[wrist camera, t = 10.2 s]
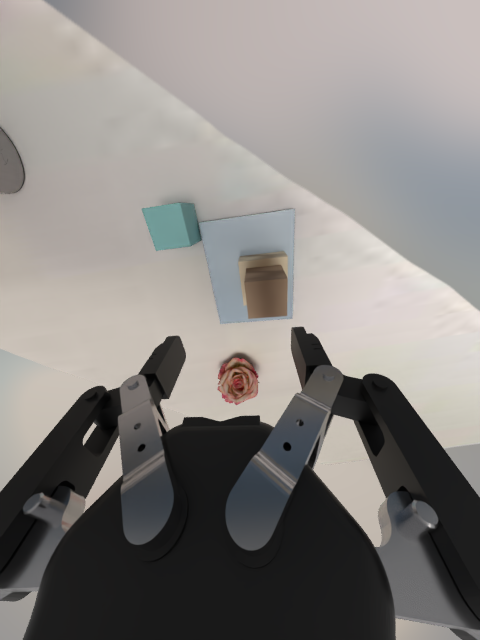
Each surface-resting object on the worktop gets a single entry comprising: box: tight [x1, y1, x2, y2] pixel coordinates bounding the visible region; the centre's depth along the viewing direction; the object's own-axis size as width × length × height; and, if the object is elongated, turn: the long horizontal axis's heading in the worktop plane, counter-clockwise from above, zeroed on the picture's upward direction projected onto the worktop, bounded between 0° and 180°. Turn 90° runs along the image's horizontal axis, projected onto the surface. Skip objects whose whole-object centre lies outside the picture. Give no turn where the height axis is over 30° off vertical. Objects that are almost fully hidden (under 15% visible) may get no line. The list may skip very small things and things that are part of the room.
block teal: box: [142, 203, 201, 251], centre depth 26 cm, size 5×5×6 cm
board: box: [199, 209, 295, 324], centre depth 32 cm, size 14×18×1 cm
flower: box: [218, 358, 259, 405], centre depth 42 cm, size 10×9×8 cm
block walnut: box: [244, 265, 288, 319], centre depth 25 cm, size 5×5×6 cm
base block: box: [238, 251, 288, 306], centre depth 29 cm, size 7×7×4 cm
